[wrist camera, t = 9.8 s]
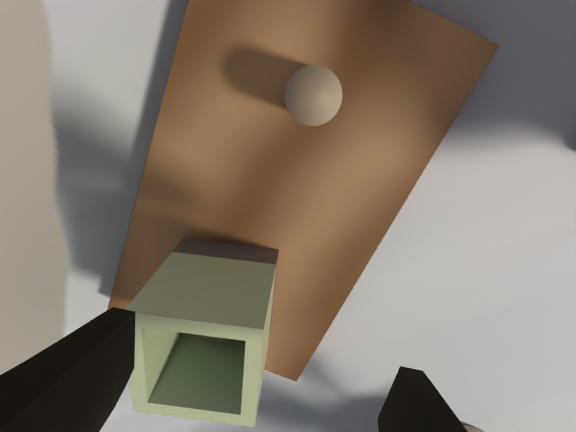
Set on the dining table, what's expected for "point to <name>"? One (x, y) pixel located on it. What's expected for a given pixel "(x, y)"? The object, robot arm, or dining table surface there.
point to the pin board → (296, 144)
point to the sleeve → (204, 332)
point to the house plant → (472, 429)
